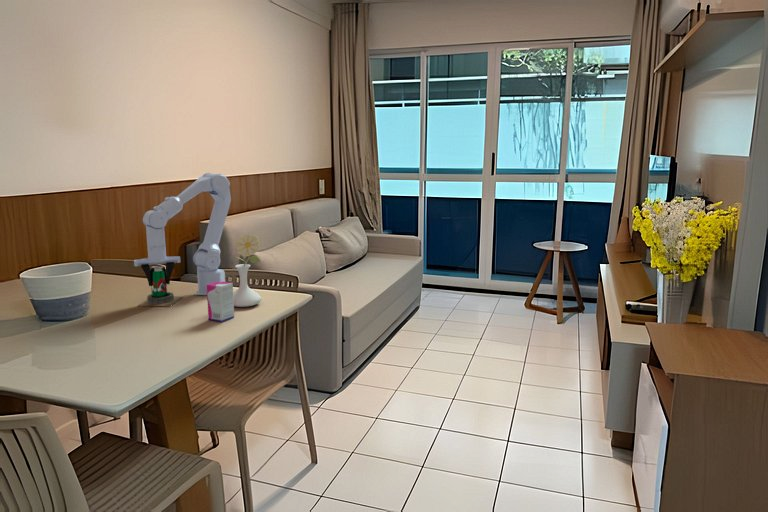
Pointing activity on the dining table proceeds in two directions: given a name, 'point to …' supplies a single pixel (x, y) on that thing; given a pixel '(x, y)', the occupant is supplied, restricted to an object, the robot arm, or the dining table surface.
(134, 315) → the dining table surface
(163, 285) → the soda can
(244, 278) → the flower in vase
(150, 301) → the can socket
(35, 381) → the dining table surface
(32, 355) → the dining table surface
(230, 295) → the supplement box
